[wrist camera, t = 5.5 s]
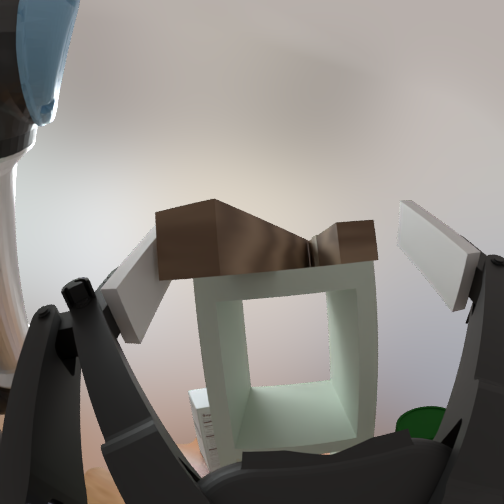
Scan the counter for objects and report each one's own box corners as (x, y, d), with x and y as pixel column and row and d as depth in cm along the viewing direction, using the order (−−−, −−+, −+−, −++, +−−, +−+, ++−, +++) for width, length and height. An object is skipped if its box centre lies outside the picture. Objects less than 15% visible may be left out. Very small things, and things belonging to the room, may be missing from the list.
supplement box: (199, 451, 39) (186, 389, 40) (240, 443, 42) (231, 382, 42) (209, 474, 32) (194, 408, 33) (255, 464, 35) (247, 398, 36)
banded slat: (378, 259, 20) (373, 218, 20) (340, 264, 20) (335, 221, 20) (335, 264, 33) (333, 238, 33) (310, 267, 33) (307, 240, 33)
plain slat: (220, 275, 11) (214, 198, 12) (159, 280, 13) (155, 212, 13) (316, 266, 38) (313, 243, 38) (293, 269, 39) (290, 246, 39)
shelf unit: (356, 530, 17) (373, 260, 19) (238, 540, 18) (193, 278, 20) (339, 466, 31) (335, 264, 33) (250, 474, 32) (227, 275, 34)
